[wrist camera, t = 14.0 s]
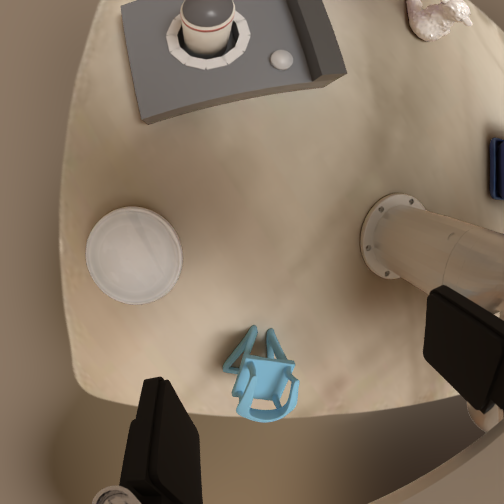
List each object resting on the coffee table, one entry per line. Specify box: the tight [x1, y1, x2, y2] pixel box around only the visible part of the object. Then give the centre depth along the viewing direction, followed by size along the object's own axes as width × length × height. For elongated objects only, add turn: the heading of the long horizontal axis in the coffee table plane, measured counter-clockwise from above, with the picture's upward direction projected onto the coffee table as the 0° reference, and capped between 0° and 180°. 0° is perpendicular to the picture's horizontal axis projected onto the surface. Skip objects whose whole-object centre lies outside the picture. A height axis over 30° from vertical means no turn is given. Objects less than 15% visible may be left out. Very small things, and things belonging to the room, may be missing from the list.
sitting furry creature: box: [406, 0, 473, 41], centre depth 25 cm, size 10×9×12 cm
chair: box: [223, 325, 299, 422], centre depth 36 cm, size 8×8×12 cm
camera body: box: [121, 0, 347, 125], centre depth 26 cm, size 22×16×7 cm
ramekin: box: [85, 206, 183, 305], centre depth 33 cm, size 11×11×5 cm
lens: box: [180, 0, 235, 60], centre depth 24 cm, size 5×5×9 cm
